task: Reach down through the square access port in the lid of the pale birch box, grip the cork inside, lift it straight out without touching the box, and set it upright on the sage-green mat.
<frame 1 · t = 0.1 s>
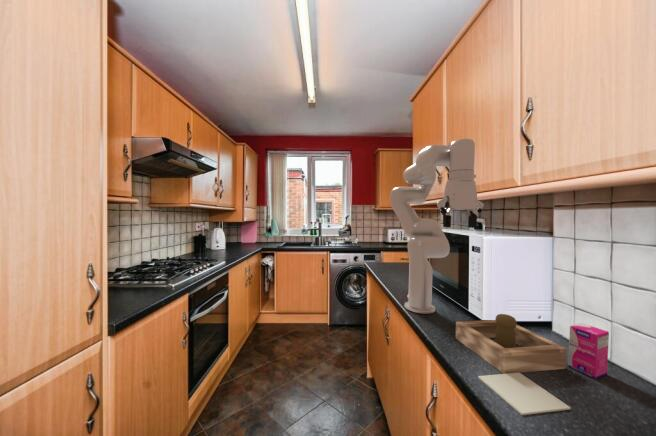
hand: (459, 227, 86), 37 cm above the countertop, tool pointing down, fingers open, 9 cm apart
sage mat: (520, 392, 59), on the countertop
supplement box: (587, 371, 68), on the countertop
cork: (504, 352, 76), resting in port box
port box: (504, 351, 76), on the countertop
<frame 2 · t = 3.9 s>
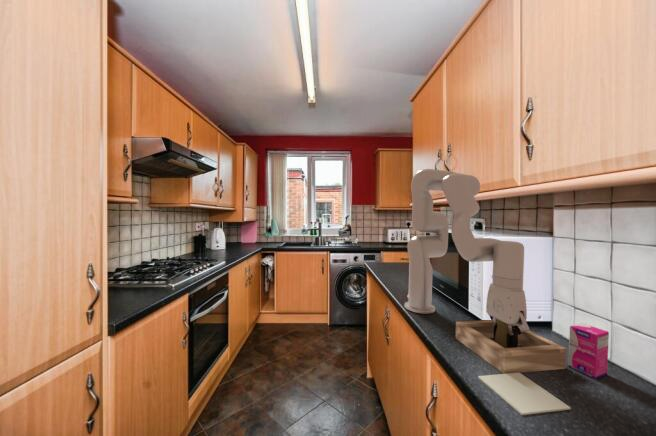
hand: (505, 342, 76), 3 cm above the countertop, tool pointing down, fingers closed on cork, 4 cm apart
cork: (504, 352, 76), resting in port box, touching gripper
everything else where it was.
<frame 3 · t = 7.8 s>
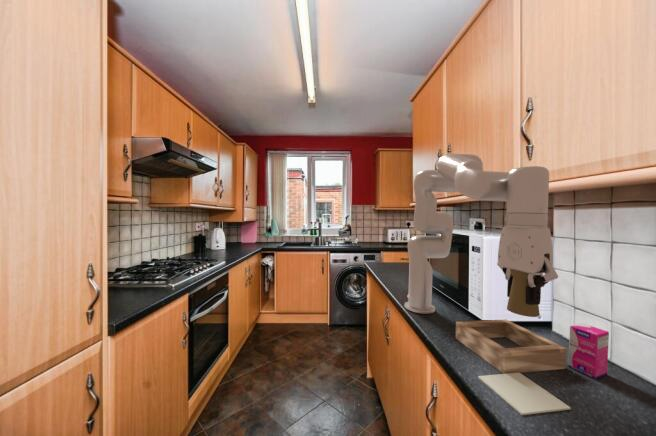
hand: (523, 299, 59), 21 cm above the countertop, tool pointing down, fingers closed on cork, 4 cm apart
cork: (522, 312, 59), point 18 cm above the countertop, touching gripper
everything else where it was.
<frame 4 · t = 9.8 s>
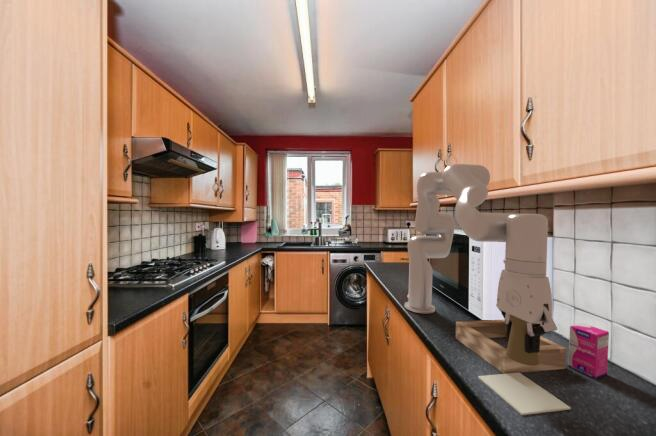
hand: (522, 345, 58), 11 cm above the countertop, tool pointing down, fingers closed on cork, 4 cm apart
cork: (521, 358, 59), point 8 cm above the countertop, touching gripper
everything else where it was.
when the fingers open (4 cm above the countertop, at t = 11.8 s): cork drops 1 cm, resting on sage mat.
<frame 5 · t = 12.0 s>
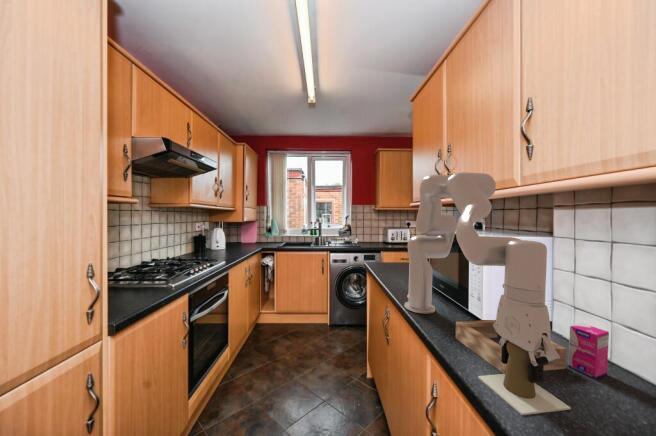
hand: (520, 370, 59), 5 cm above the countertop, tool pointing down, fingers open, 6 cm apart
cork: (518, 390, 59), resting on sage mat
everything else where it was.
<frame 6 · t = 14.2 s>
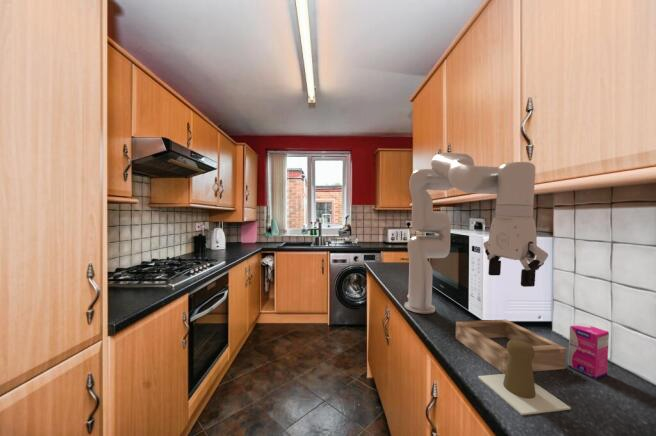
hand: (509, 280, 64), 24 cm above the countertop, tool pointing down, fingers open, 9 cm apart
nothing on the countertop moved.
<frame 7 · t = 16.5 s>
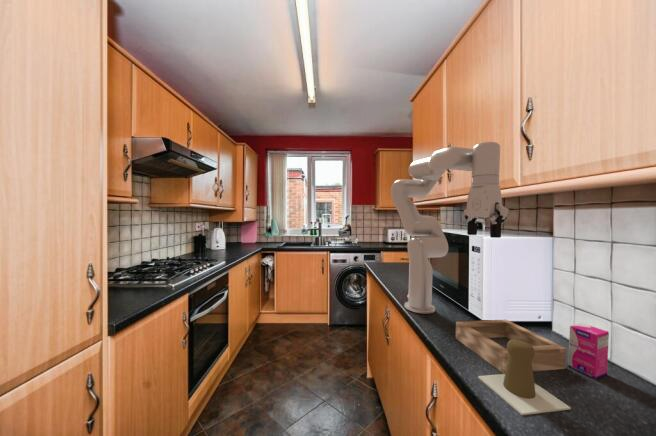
hand: (483, 236, 81), 34 cm above the countertop, tool pointing down, fingers open, 9 cm apart
nothing on the countertop moved.
at the end: cork inside the target area on the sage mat (0.4 cm from its centre), point 0.2 cm above the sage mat's base; cork tilted 0°; cork touching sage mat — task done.
